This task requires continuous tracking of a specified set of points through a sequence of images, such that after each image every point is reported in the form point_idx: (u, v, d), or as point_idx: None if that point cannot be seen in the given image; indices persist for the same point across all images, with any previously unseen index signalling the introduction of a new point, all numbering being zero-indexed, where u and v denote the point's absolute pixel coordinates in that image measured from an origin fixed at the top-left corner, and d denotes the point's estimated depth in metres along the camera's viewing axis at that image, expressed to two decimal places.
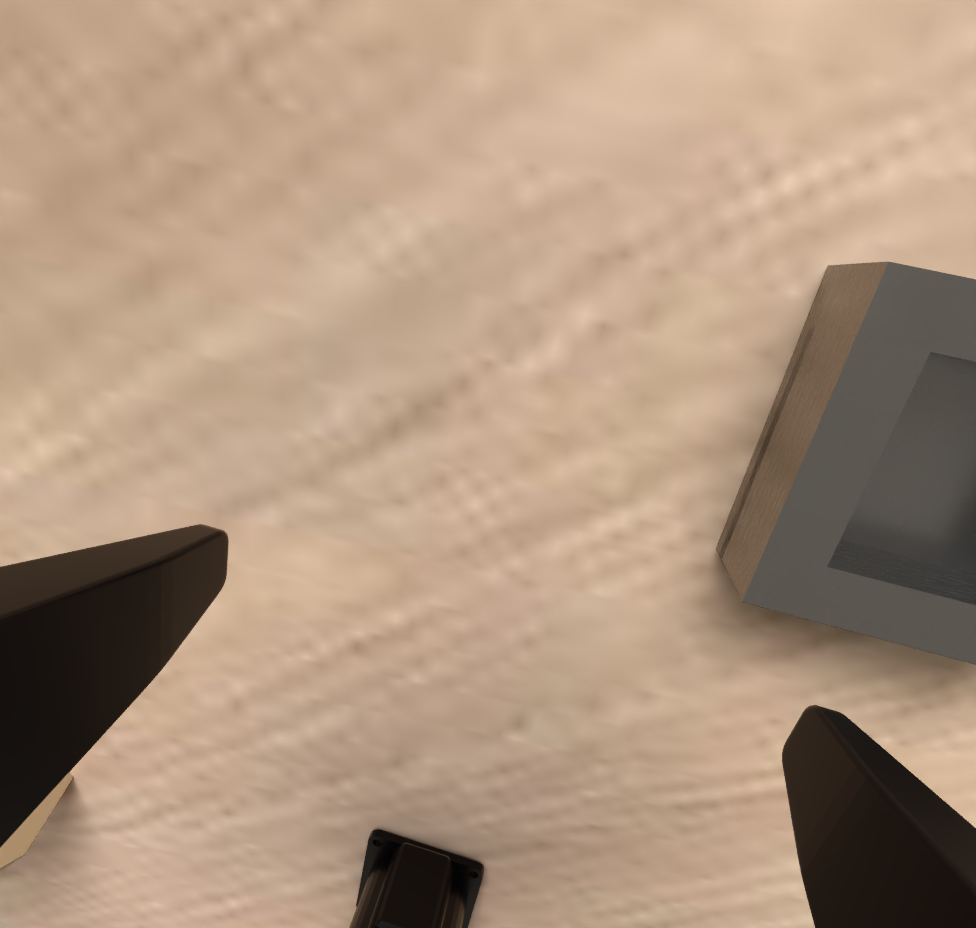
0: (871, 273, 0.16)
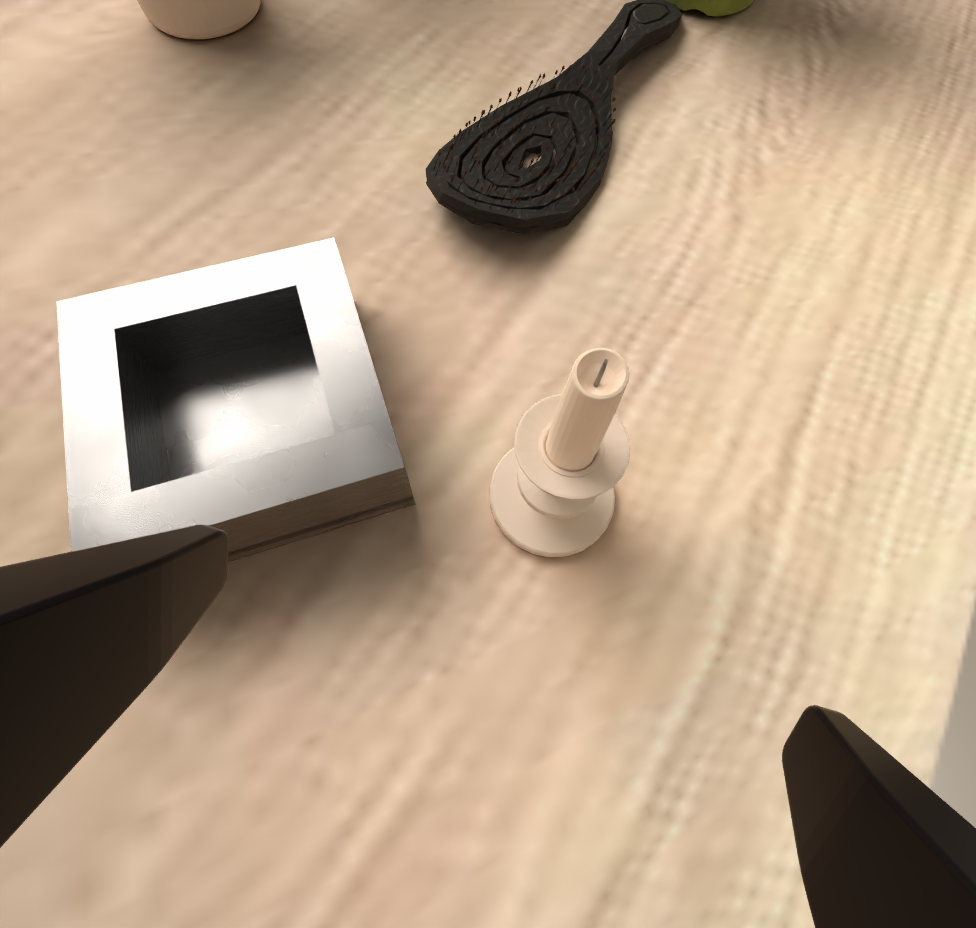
0: None
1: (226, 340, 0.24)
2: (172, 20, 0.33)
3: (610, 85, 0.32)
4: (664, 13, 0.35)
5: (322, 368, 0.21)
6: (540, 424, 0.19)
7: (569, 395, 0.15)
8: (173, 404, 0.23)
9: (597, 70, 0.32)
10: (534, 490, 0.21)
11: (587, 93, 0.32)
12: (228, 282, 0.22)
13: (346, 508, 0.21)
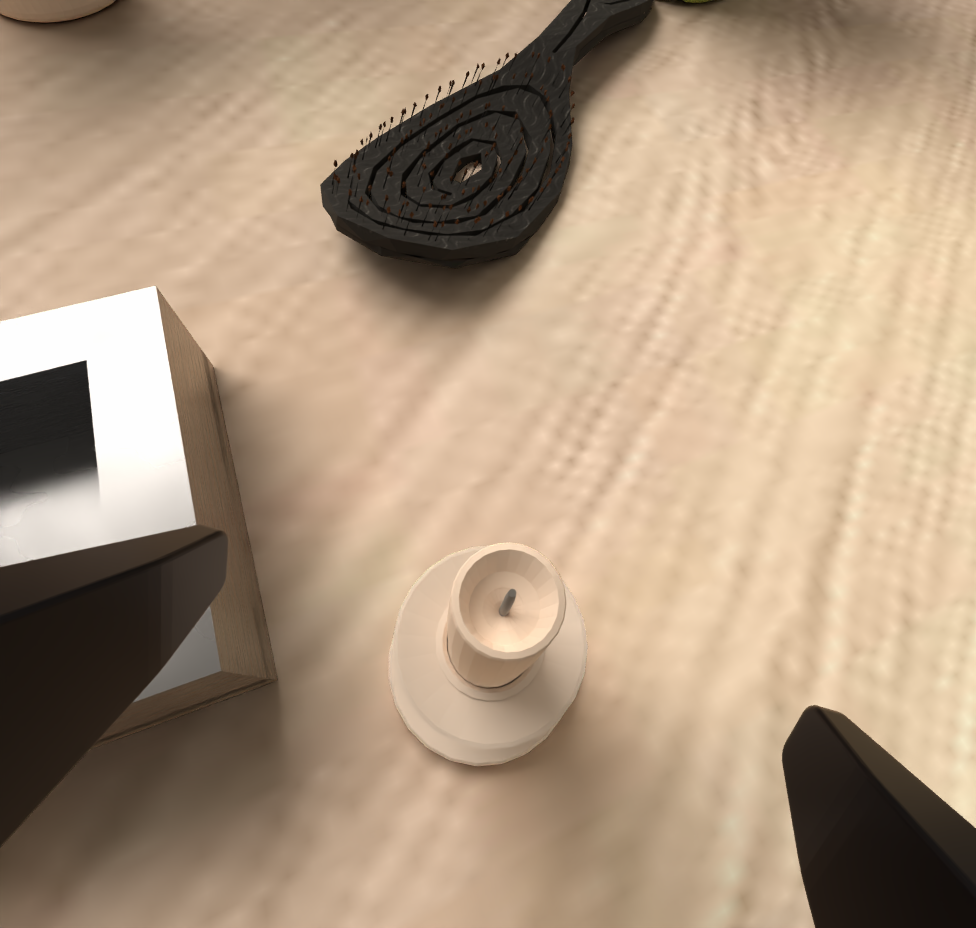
0: None
1: None
2: None
3: (568, 77, 0.25)
4: None
5: (107, 496, 0.13)
6: (440, 602, 0.11)
7: (452, 630, 0.07)
8: None
9: (551, 59, 0.25)
10: None
11: (539, 88, 0.25)
12: None
13: (149, 715, 0.13)
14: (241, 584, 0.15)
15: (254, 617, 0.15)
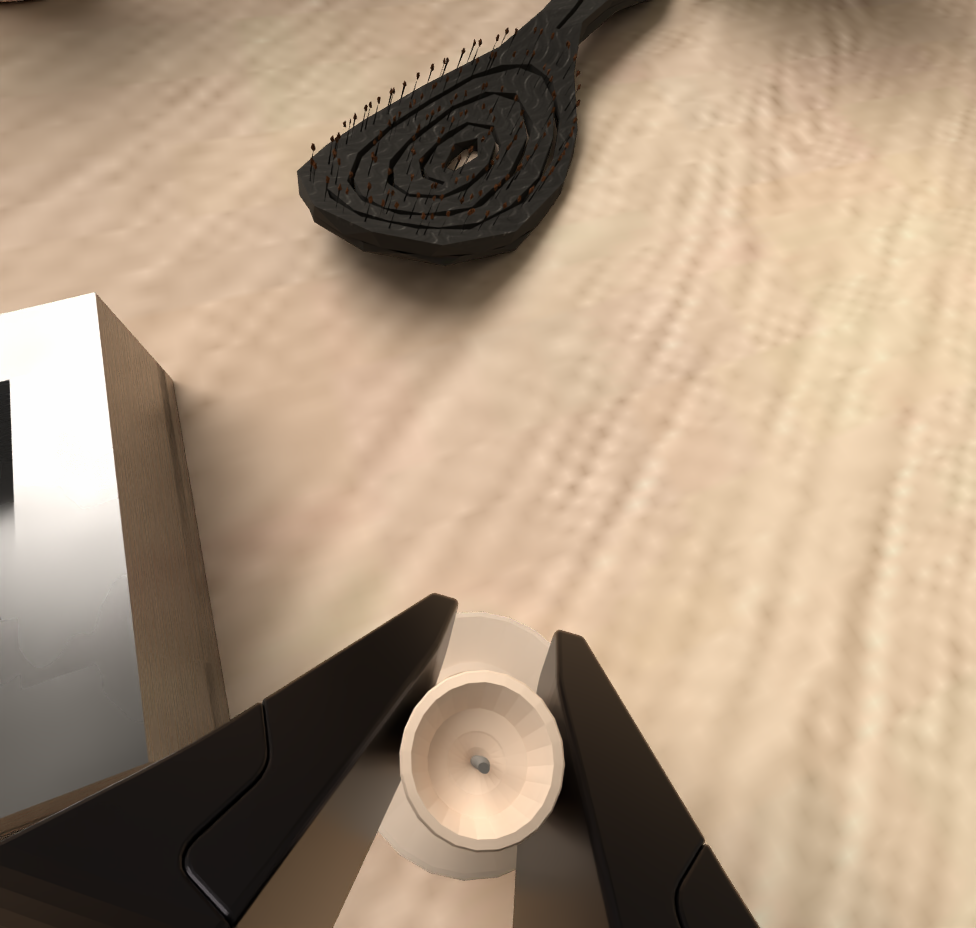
0: None
1: None
2: None
3: (573, 56, 0.23)
4: None
5: (23, 544, 0.11)
6: None
7: None
8: None
9: (555, 36, 0.23)
10: None
11: (541, 67, 0.23)
12: None
13: (75, 801, 0.11)
14: (190, 639, 0.13)
15: (206, 676, 0.13)
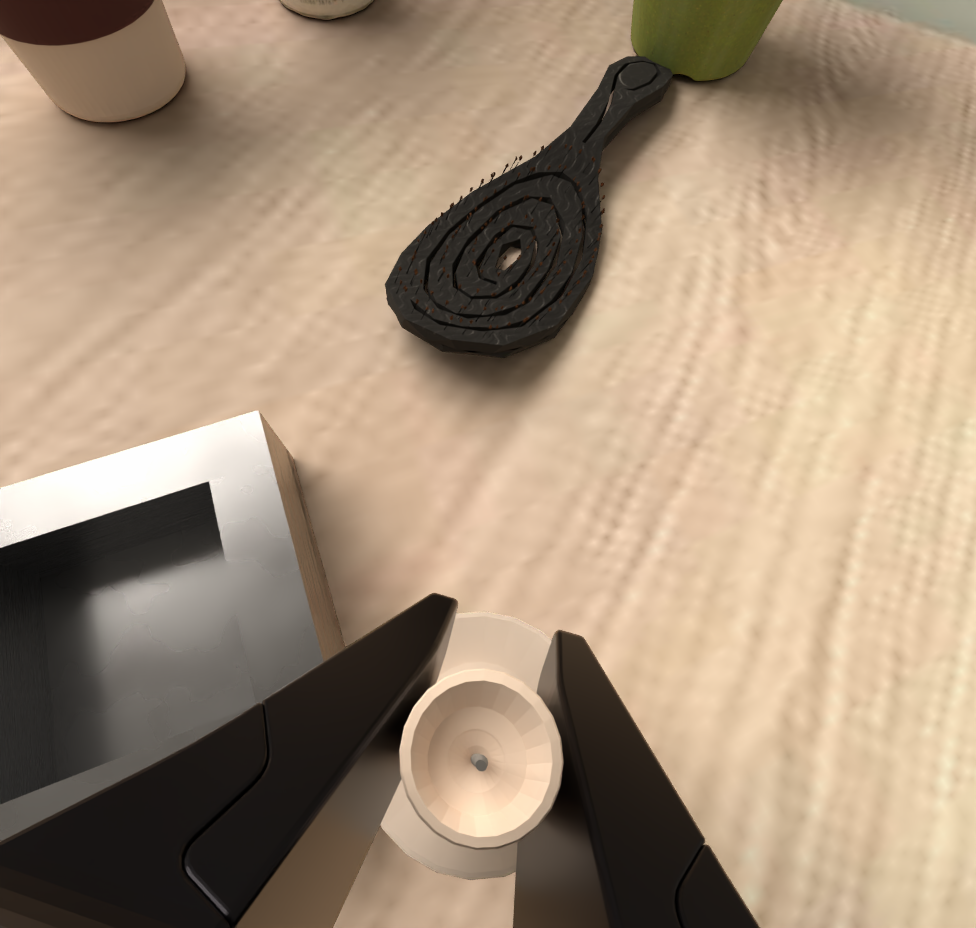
0: None
1: (129, 538, 0.19)
2: (77, 103, 0.28)
3: (597, 165, 0.28)
4: (653, 74, 0.31)
5: (240, 604, 0.16)
6: None
7: None
8: (62, 624, 0.19)
9: (581, 148, 0.28)
10: None
11: (571, 175, 0.28)
12: (122, 481, 0.18)
13: None
14: None
15: None
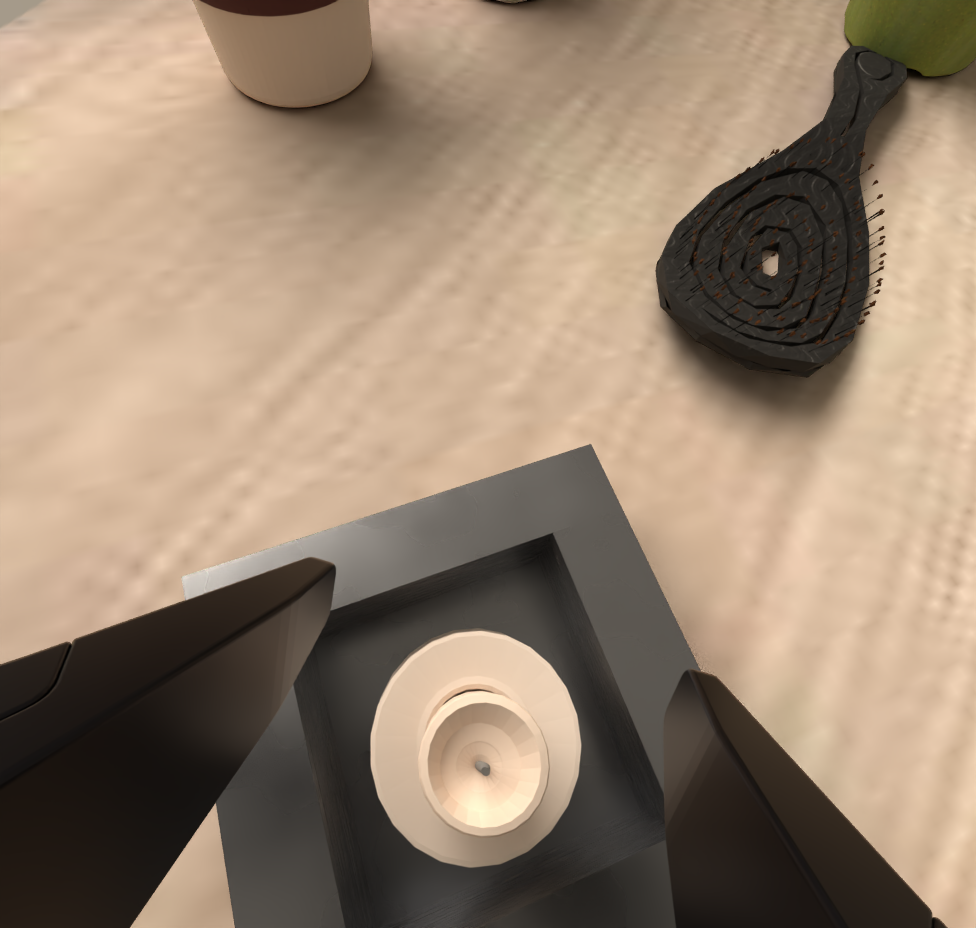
0: None
1: (423, 596, 0.16)
2: (267, 85, 0.25)
3: (858, 161, 0.25)
4: (889, 65, 0.28)
5: (629, 694, 0.13)
6: (421, 696, 0.11)
7: None
8: (347, 702, 0.15)
9: (839, 142, 0.25)
10: None
11: (826, 171, 0.25)
12: (448, 531, 0.14)
13: None
14: None
15: None
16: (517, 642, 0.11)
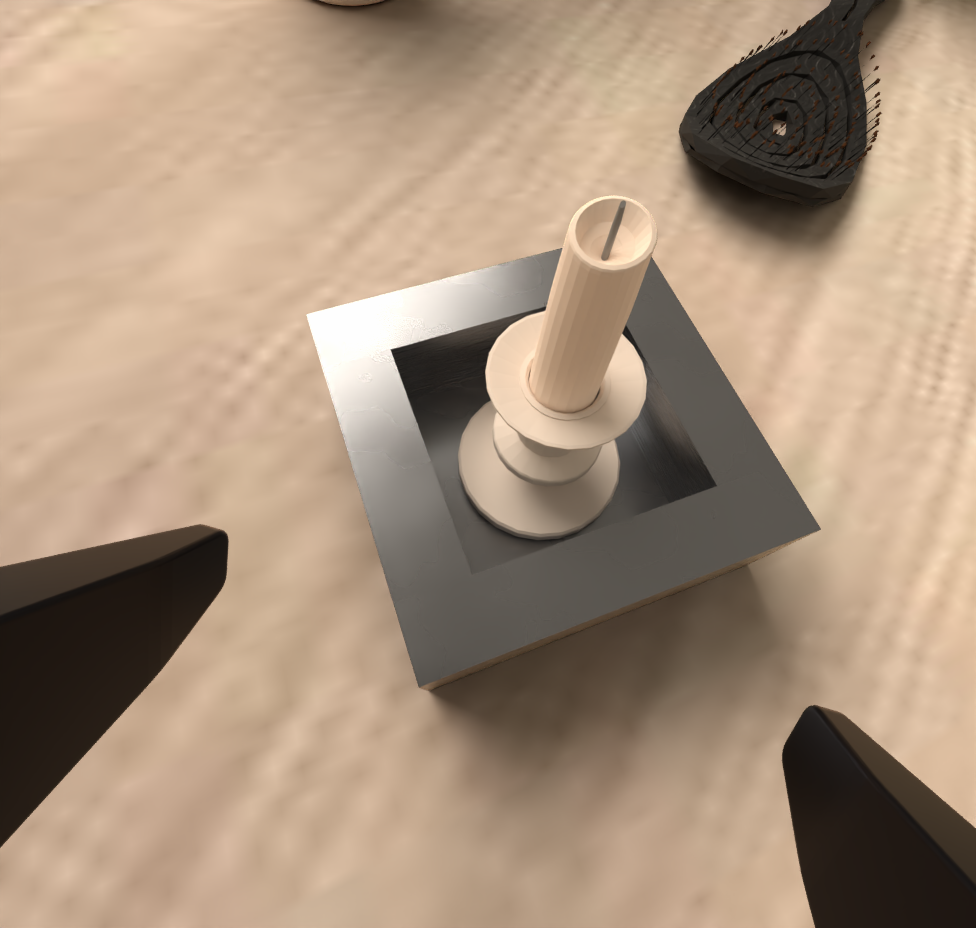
0: None
1: None
2: None
3: (857, 43, 0.28)
4: None
5: (673, 397, 0.16)
6: (521, 352, 0.14)
7: (564, 275, 0.10)
8: (433, 443, 0.18)
9: (840, 26, 0.28)
10: (516, 449, 0.15)
11: (829, 53, 0.28)
12: (520, 286, 0.17)
13: (703, 579, 0.16)
14: None
15: None
16: None
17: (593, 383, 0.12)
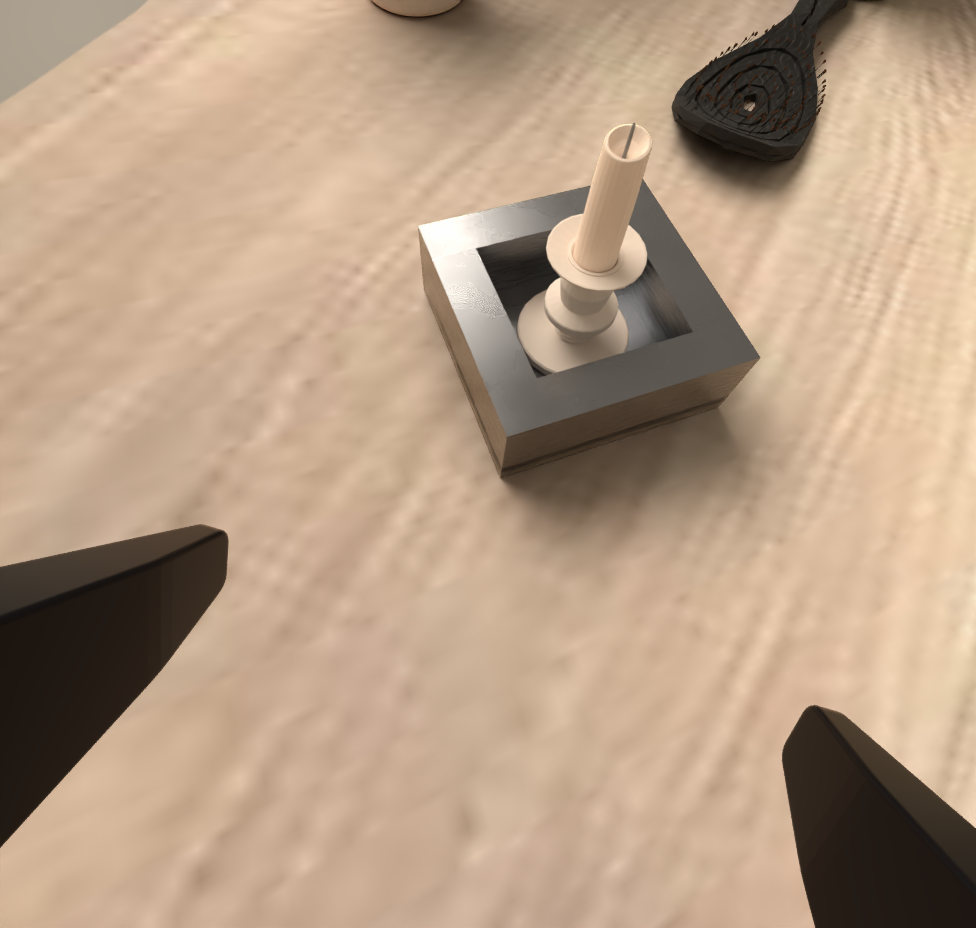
0: (421, 242, 0.25)
1: (540, 266, 0.27)
2: None
3: (812, 43, 0.36)
4: None
5: (665, 279, 0.24)
6: (567, 237, 0.21)
7: (601, 169, 0.18)
8: None
9: (799, 30, 0.36)
10: (560, 311, 0.23)
11: (791, 50, 0.36)
12: (561, 210, 0.25)
13: (685, 402, 0.24)
14: None
15: None
16: None
17: (614, 248, 0.20)
